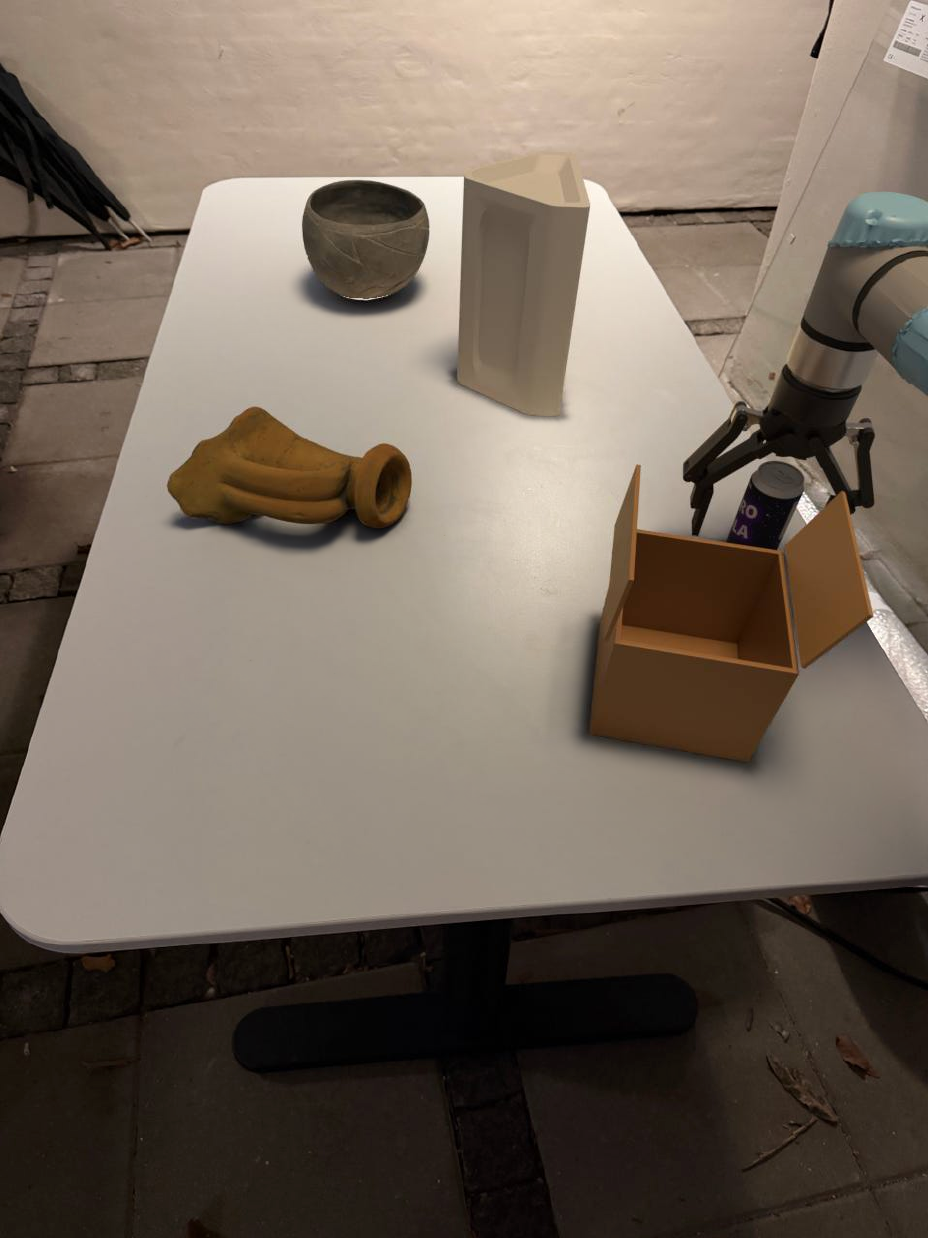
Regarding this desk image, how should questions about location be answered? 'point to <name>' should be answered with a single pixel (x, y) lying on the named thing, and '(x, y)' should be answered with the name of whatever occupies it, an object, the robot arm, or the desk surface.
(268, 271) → the desk surface
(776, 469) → the beverage can
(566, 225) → the tall recessed triangular prism
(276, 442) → the brown looped sculpture
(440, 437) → the desk surface
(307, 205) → the bowl
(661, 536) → the carton
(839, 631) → the flap
